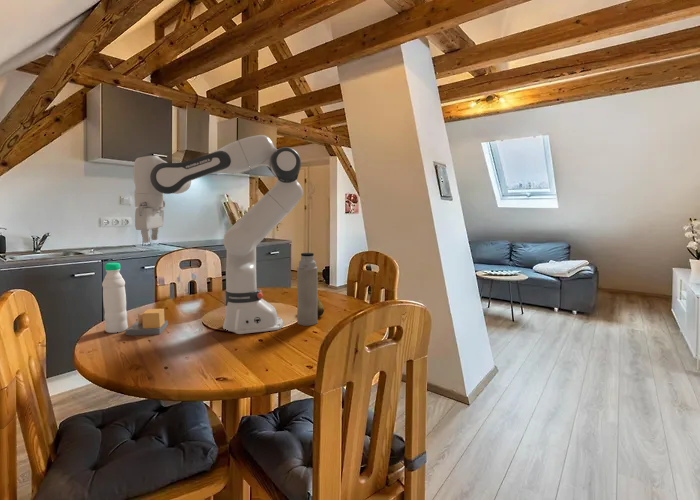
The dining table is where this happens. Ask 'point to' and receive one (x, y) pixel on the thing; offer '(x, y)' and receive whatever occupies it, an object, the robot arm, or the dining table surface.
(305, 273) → the thermos bottle
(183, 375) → the dining table surface
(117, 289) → the white milk bottle
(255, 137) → the robot arm
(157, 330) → the plate
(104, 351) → the dining table surface
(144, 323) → the wooden cube
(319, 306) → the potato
